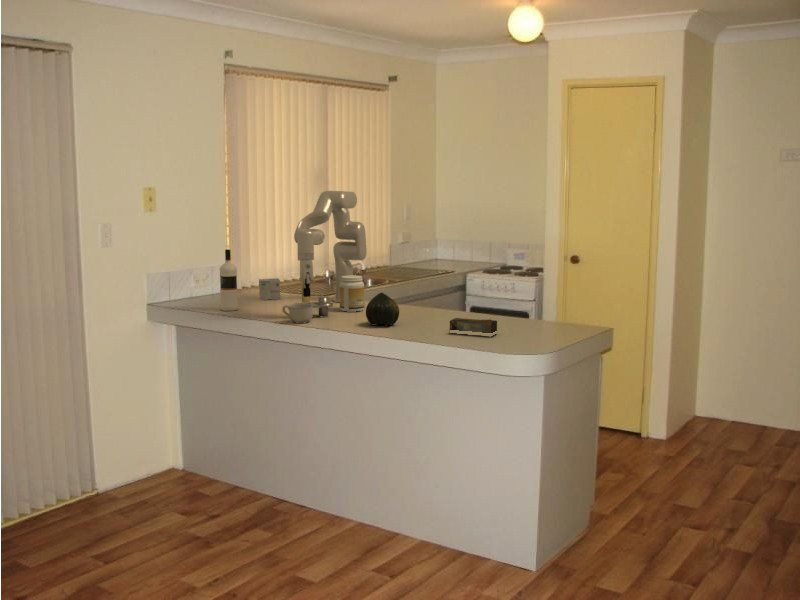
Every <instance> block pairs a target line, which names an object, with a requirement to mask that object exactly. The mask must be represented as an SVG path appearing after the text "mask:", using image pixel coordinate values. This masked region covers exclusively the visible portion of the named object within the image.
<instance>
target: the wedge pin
mask: <svg viewBox="0 0 800 600" xmlns="http://www.w3.org/2000/svg"><path fill="white" fill-rule="evenodd" d="M298 280H299V282H301V303H310V302H311V296H310V297H304V296H303V288H304V281H302V278H300V277H299V278H298ZM305 281H307V280H305ZM310 283H312V281H311V279H310ZM305 284H306V283H305Z"/></svg>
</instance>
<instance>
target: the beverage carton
mask: <svg viewBox="0 0 800 600" xmlns="http://www.w3.org/2000/svg"><path fill="white" fill-rule="evenodd" d="M450 330H459V331H472V332H482V333H493V332H495V331H497V332H498V320H494V319H493V320H492V319H475V318H474V319H473V318H463V317H460V318H459V317H454V318H452V319H450V320H449V331H450Z"/></svg>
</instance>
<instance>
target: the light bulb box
mask: <svg viewBox="0 0 800 600" xmlns="http://www.w3.org/2000/svg"><path fill="white" fill-rule="evenodd" d="M258 289H259V292H258V293H259V300H260V299H261V300H260V301H269V300H268V299H276V300H281V280H280V279H279V278H277V277H276V278H258Z"/></svg>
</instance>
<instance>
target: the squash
mask: <svg viewBox="0 0 800 600" xmlns="http://www.w3.org/2000/svg"><path fill="white" fill-rule="evenodd" d="M365 308H366V309H365V317H366V320H367V321H368V323H369V324H370V325H372V324H379V325H384V326H385V325H390V326H392V325H394V324H396V323H397V322H398V320H399V317H400V308H399V305H398V303H397V302H396V301H395V300H394V299H393V298H391V297H390V296H388V295H387V294H386V293H383V292H379V293H378V294H376V295H375V296H374V297H373V298H372V299H370V301H369V302H368V304H367V305H366V307H365ZM391 324H392V325H391Z"/></svg>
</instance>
